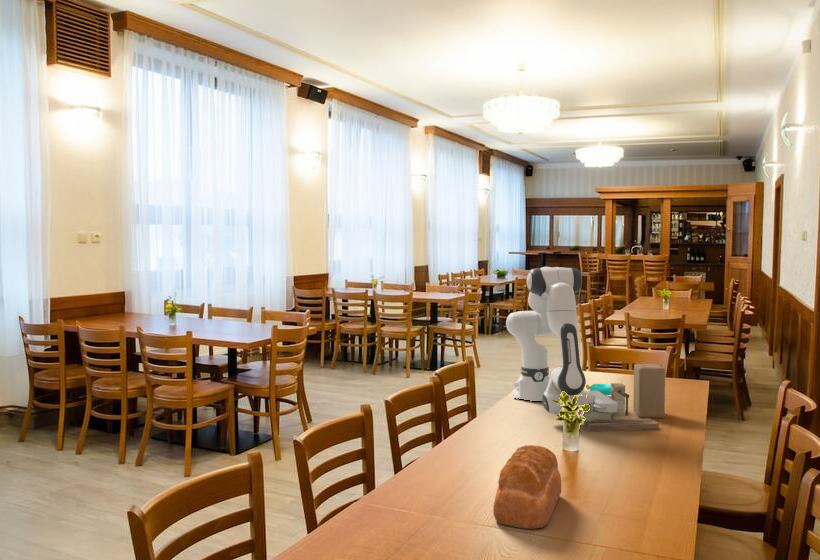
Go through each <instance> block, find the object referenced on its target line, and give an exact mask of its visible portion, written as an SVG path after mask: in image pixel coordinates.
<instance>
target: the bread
mask: <svg viewBox="0 0 820 560" xmlns="http://www.w3.org/2000/svg"><path fill="white" fill-rule="evenodd" d="M558 463H559V462H558V459H557V456H556V454H555V453H554V452H553V451H551V450H550V449H549V448H548V447H544V446H542V445H534V444H532V445H531V444H529V445H528V444H527V445H523V446H520V447H518V448H517V449H516V450H515V451H514V452H513V453H512V455H511V456H510V457H509V458H508V459H507V461H506V463H505V465H504V466H502V469H501V470H500V471H499V478H498V481H497V482H498V483H497V484H498V486H497V488H496V493H495V497H494V498H495V499H494V503H493V515H494V519H495V521H496V522H497V523H498V524H500V525H503V526H508V527H512V528H519V529H530V530H535V529H541V528H542V529H543V528H544V527H545V526H546V525H547V524H548V522H550V521H549V520H550V518H551V517H552V515H553V514H554V510H555V508H556V507H557V505H558V503H559V502H558V501H559V499H560V497H561V493H562V478H561V477H562V476H561V473H560V471H559V464H558Z"/></svg>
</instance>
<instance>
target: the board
mask: <svg viewBox="0 0 820 560" xmlns="http://www.w3.org/2000/svg"><path fill="white" fill-rule="evenodd" d="M659 425H660V424H659V422H656V421H655V420H653V418H630V419H629V418H628V419H626V418H625V420H611V419H607V420H606V419H605V420H602V419H601V420H600V419H599V420H598V419H597V420H583V427H584V428H586V429H587V430H588V431H589V432H610V431H612V432H613V431H639V430H640V431H641V430H642V429H645V430H659V428H660V426H659ZM642 431H643V430H642Z"/></svg>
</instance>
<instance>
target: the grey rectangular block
mask: <svg viewBox="0 0 820 560" xmlns="http://www.w3.org/2000/svg"><path fill="white" fill-rule="evenodd" d="M665 390H666V369H665V368H664V367H663V366H662V365H660V364H658V363H634V365H633V412H634V413H635V414H636V415H637V417H639V418H640V417H641V418H640V419H663V418H665V415H666V414H665V409H666V406H665V402H666V398H665V397H666V391H665Z"/></svg>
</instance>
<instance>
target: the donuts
mask: <svg viewBox="0 0 820 560" xmlns="http://www.w3.org/2000/svg"><path fill="white" fill-rule="evenodd" d="M589 390H593V391H599V392H601V393H602V394H604V395H606V396H611V384H608V383H594V384H591V385H590V386H589ZM593 411H595V412H597V411H596V410H593Z"/></svg>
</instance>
